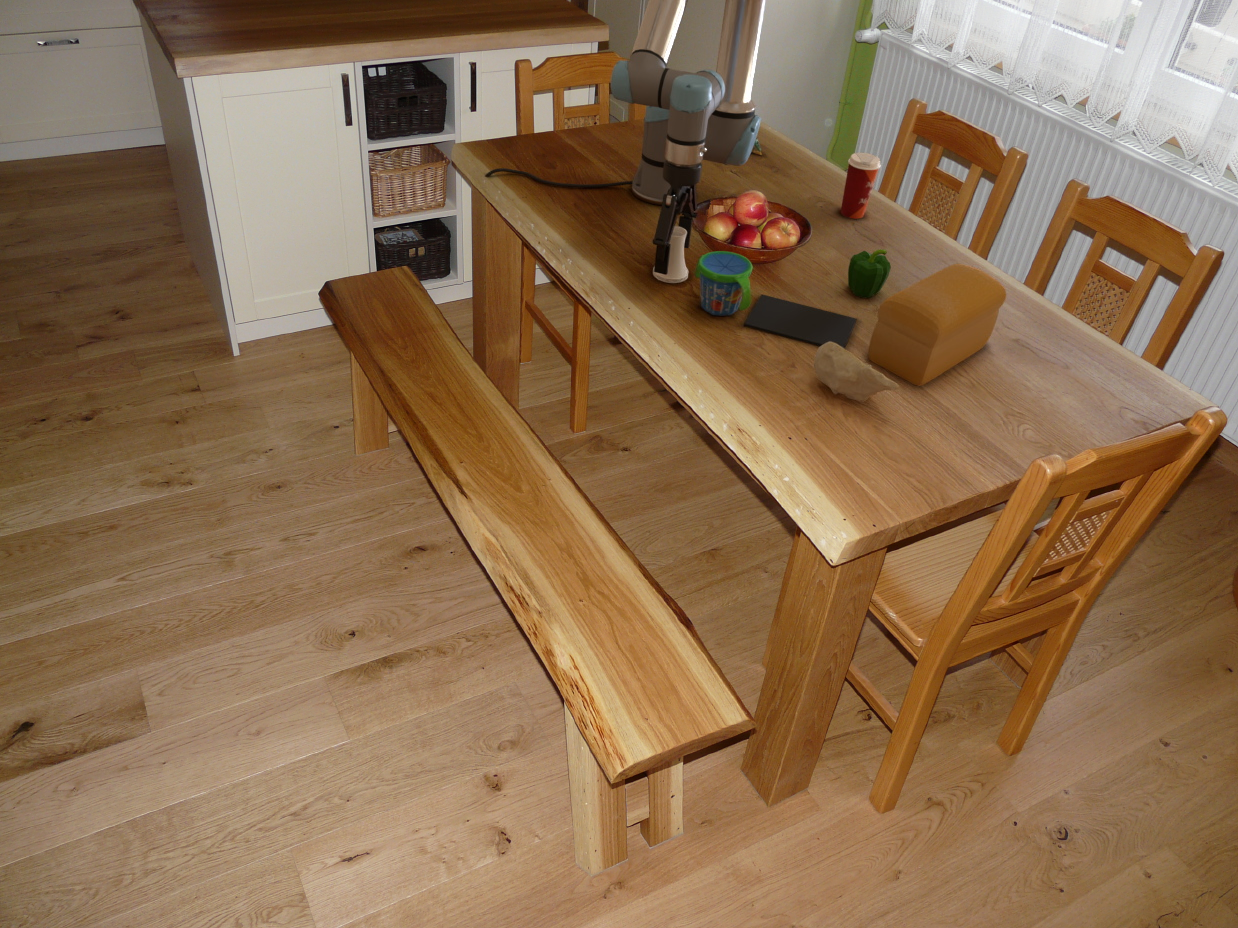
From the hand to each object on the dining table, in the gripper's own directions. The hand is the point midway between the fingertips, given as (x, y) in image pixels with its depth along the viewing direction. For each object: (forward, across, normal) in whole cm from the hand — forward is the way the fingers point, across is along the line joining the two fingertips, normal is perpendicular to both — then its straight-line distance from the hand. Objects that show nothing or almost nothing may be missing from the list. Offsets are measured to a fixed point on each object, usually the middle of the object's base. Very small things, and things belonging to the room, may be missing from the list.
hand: (671, 259), depth 195 cm
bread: (+4, -4, -55) cm, 55 cm away
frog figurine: (+3, +78, +9) cm, 79 cm away
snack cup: (+4, -8, -14) cm, 16 cm away
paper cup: (+3, +51, -29) cm, 59 cm away
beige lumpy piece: (+4, -25, -45) cm, 52 cm away
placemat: (+4, -6, -30) cm, 31 cm away
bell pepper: (+4, +13, -39) cm, 41 cm away
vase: (+4, 0, 0) cm, 4 cm away
